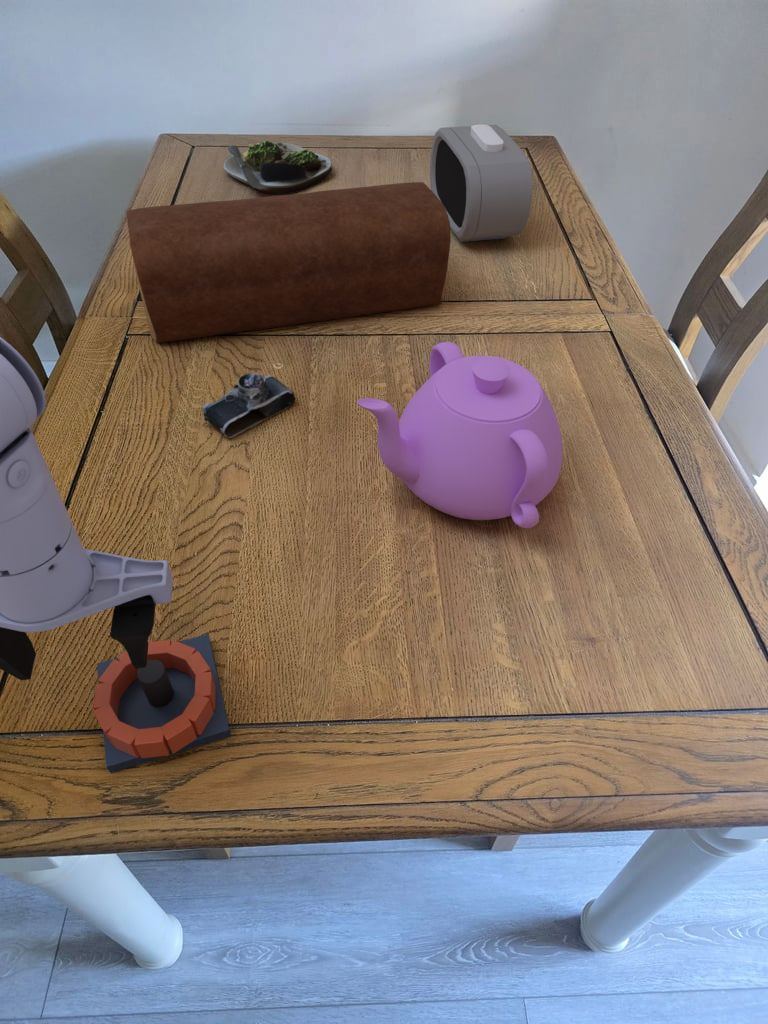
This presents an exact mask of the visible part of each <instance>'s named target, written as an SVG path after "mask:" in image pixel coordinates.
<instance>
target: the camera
mask: <svg viewBox="0 0 768 1024" xmlns="http://www.w3.org/2000/svg"><path fill="white" fill-rule="evenodd" d="M296 399H297V398H296V396H295V392H294V390H292V389H291V388H289V387H288V386H287V385H285V384H284V383H282V382H281V381H280V380H279V379H277V378H276V377H275V376H274V375H271V374H269V375H266V376H264V375H262V374H260V373H258V372H249V373H245V374H243V375H241V376H240V377H238V381H237V384H235V385H233V386H232V387H231V388H230V391H228V392H227V393H226V394H224V395H223V397H221V398H219V399H217V400H215V401H213V402H209V401H208V402H206V403H204V404H203V405H202V408H201V410H202V413H203V414H202V415H203V418H204V419H203V420H204V421H205V422H208V423H210V424H211V425H212V426H213V427H214V428H215V429H216V430H217V431H219V432H220V433H221V434H222V435H223V436H224V437H225V438H227V439H233V438H236V437H238V436H239V435H242V434H244V433H245V432H248V431H249V430H250V429H252V428H255V427H256V426H258V425H259V424H261V423H263V422H264V421H266V420H268V419H271V418H272V417H274V416H275V415H278V414H279V413H282V412H283V411H285V410H287V409H289V408H290V407H291V406H293V405H294V403H295V401H296Z"/></svg>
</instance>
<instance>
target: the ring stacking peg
mask: <svg viewBox="0 0 768 1024" xmlns="http://www.w3.org/2000/svg"><path fill="white" fill-rule="evenodd" d="M178 642H180V643H182V644H185V645H187V646H190V647H192V648H195V649H196V652H197V651H198V652H199V653H200V654H201V656H202V657H203V659H204V660H205V662H206V663H207V664H208V666H209V667H210V670H211V673H212V676H213V680H214V683H215V686H216V695H215V710H213V712H214V714H213V716H212V717H211V719H210V720H209V722H208V724H207V725H206V727H205V729H204V730H203V732H202V733H201V735H197V734H196V737H197V739H196V740H194V741H192V742H191V743H189V744H188V745H186V746H185V747H183V748H181V749H180V750H178V751H177V752H175V753H172V751H171V750H170V749H169V755H167V756H158V757H150V758H141V756H140V755H139V757H138V758H136V757H134V756H132V755H130V754H127V753H125V752H123V751H121V750H118V749H116V748H115V747H114V745H112V744H111V742H110V741H109V739H108V737H107V736H106V734H105V732H104V730H103V729H102V735H103V745H104V746H103V747H104V756H105V767H106V769H107V770H108V772H109V774H112V773H116V772H119V771H123V770H126V769H129V768H132V767H136V766H138V765H139V766H140V765H142V764H146V763H149V762H152V761H155V760H158V759H162V758H166V757H169V756H171V755H175V754H178V753H181V752H184V751H187V750H188V751H189V750H191V749H195V748H198V747H201V746H204V745H209V744H211V743H214V742H217V741H221V740H224V739H227V738H230V737H232V734H231V730H230V725H229V721H228V715H227V710H226V707H225V706H226V705H225V701H224V697H223V693H222V688H221V683H220V678H219V674H218V669H217V664H216V659H215V655H214V651H213V647H212V646H213V645H212V642H211V638H210V635H209V633H206V634H202V635H199V636H195V637H191V638H188V639H183V640H180V641H178ZM113 660H117V661H119V660H118V657H117V658H112V659H109V660H105V661H101V662H97V663H96V669H97V680H99V678H100V677H101V676H102V674H103V673H104V672H105V670H106V669H107V668H108V667H109V665H110V664H111V663H112V661H113ZM137 677H138V678H137V679H135V680H133V681H132V682H131V684H130V685H129V687H128V688H127V689H126V691H125V692H124V693H123V695H122V696H121V698H120V700H119V709H118V717H117V718H118V720H119V721H121V722H123V723H125V724H128V725H130V726H132V727H134V728H137V729H146V728H155V727H162V726H164V725H165V724H167V723H168V722H170V721H172V720H173V719H175V718H177V717H178V716H180V715H181V714H183V712H184V711H185V709H186V707H187V706H188V704H189V703H190V701H191V700H192V698H193V697H194V695H195V681H194V680H193V678H192V677H191V675H189V674H187V673H184V672H182V671H179V670H177V669H174V668H167V669H165V667H164V665H163V663H162V662H160V661H158V660H148V661H147V665H146V667H145V668H138V671H137ZM98 684H100V683H99V681H98Z"/></svg>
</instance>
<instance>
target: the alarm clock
mask: <svg viewBox="0 0 768 1024" xmlns="http://www.w3.org/2000/svg"><path fill="white" fill-rule="evenodd" d="M429 162H430V163H429V181H430V190H431V191H432V192H433V193H434V194H435V195H436V196H437V198H438V199H439V200H440V201H441V203H442V204H443V205H444V207H445V208H446V211H447V215H448V218H449V221H450V230H451V231H452V232H453V233H454V234H455V236H456V237H457V239H458V240H459V242H460V243H464V242H466V243H467V242H475V241H478V242H479V241H488V240H490V241H491V240H500V239H507V237H509V236H518V235H521V234H522V233H523V232H524V230H525V229H526V226H527V224H528V221H529V216H530V213H531V207H532V201H533V189H534V182H533V181H534V180H533V172H532V171H533V170H532V166H531V162H530V160H529V158H528V156H527V155H526V154H525V151H524V150H522V148H521V147H520V146H519V145H518V144H517V143H516V142H515V141H514V140H513V139H512V138H511V137H510V135H509V134H508V133H507V132H506V131H505V130H504V129H503V128H502V127H500V126H499V125H497V124H473V125H466V126H465V125H464V126H449V127H447V126H446V127H440V128H438V129H437V131H436V132H435V133H434V136H433V139H432V144H431V151H430V161H429Z"/></svg>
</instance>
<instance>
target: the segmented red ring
mask: <svg viewBox="0 0 768 1024" xmlns="http://www.w3.org/2000/svg"><path fill="white" fill-rule="evenodd" d="M117 658H118V660H119V661H117V660H113V661H112V663H111V664H110V665H109V667H108V668H107V669H106V670H105V672H104V673H103V674H102V676H101V677H100V678H99V680H98V679H97V680H98V681H99V682H98V683H96V685H95V689H94V690H95V691H94V698H93V706H92V709H93V714H94V716H95V718H96V720H97V721H98V723H99V725H100V727H101V729H102V731H103V730H104V732H105V734H106V736H107V737H108V739H109V741H110V742H111V744H112V745H114V747H115V748H116V749H118V750H121V751H123V752H125V753H127V754H130V755H132V756H134V757H136V758H138V757H139V755H140V756H141V758H150V757H158V756H165V757H168V756H167V755H169V749H170V750H171V751H172V753H175V752H177V751H178V750H180V749H181V748H183V747H185V746H186V745H188V744H189V743H191V742H192V741H194V740H196V739H197V737H196V734H197V735H201V733H202V732H203V730H204V729H205V727H206V725H207V724H208V722H209V720H210V719H211V717H212V716H213V714H214V712H213V710H215V695H216V686H215V683H214V680H213V676H212V673H211V670H210V667H209V666H208V664H207V663H206V662H205V660H204V659H203V657H202V656H201V654H200V653H199V652H198V651H197V652H196V649H195V648H192V647H190V646H187V645H185V644H182V643H180V642H179V641H178V640H173V641H171V639H163V640H153V641H148V655H147V661H148V660H158V661H160V662H162V663H163V665H164V667H165V669H167V668H174V669H177V670H179V671H182V672H184V673H187V674H189V675H191V677H192V678H193V680H194V681H195V695H194V697H193V698H192V700H191V701H190V703H189V704H188V706H187V707H186V709H185V711H184V712H183V714H181V715H180V716H178V717H177V718H175V719H173V720H172V721H170V722H168V723H167V724H165V725H164V726H162V727H155V728H146V729H137V728H134V727H132V726H130V725H128V724H125V723H123V722H121V721H119V720H118V718H117V717H118V709H119V700H120V698H121V696H122V695H123V693H124V692H125V691H126V689H127V688H128V687H129V685H130V684H131V682H132V681H133V680H135V679H137V678H138V677H137V671H138V668H135V667H134V666H133V665H132V663H131V660H130V658H129V655H128V653H127V651H126V650H125V652H122V653H121V654H119V655H118V656H117ZM99 683H100V684H99ZM175 754H176V753H175ZM169 756H170V755H169Z"/></svg>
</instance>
